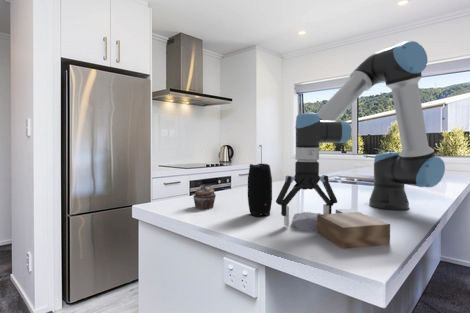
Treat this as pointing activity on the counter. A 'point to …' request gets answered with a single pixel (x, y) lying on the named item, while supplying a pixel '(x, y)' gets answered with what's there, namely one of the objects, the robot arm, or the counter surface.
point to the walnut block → (353, 230)
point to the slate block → (346, 211)
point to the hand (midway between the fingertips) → (306, 225)
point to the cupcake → (204, 197)
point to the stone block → (305, 221)
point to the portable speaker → (259, 189)
